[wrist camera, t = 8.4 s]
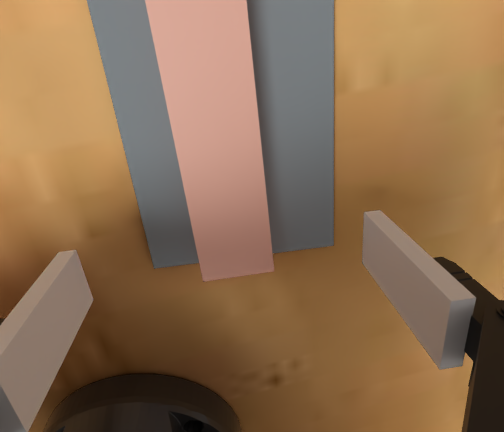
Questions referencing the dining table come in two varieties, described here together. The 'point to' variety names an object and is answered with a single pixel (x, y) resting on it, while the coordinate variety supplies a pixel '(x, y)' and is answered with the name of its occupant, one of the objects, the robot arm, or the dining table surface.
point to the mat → (269, 112)
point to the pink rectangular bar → (215, 130)
